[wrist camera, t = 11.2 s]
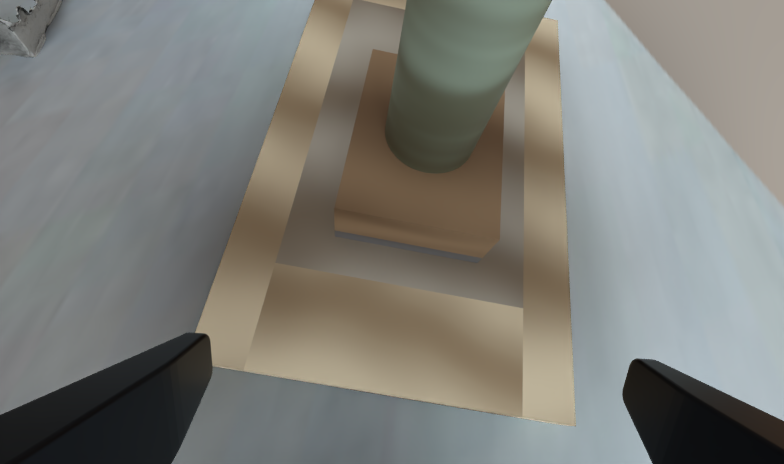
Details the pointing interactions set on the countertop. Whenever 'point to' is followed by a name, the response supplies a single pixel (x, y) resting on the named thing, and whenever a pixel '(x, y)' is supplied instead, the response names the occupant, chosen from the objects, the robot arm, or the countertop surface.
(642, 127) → the countertop surface
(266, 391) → the countertop surface
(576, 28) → the countertop surface
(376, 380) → the wooden frame
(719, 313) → the countertop surface
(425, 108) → the grey-green cylinder
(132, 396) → the robot arm
